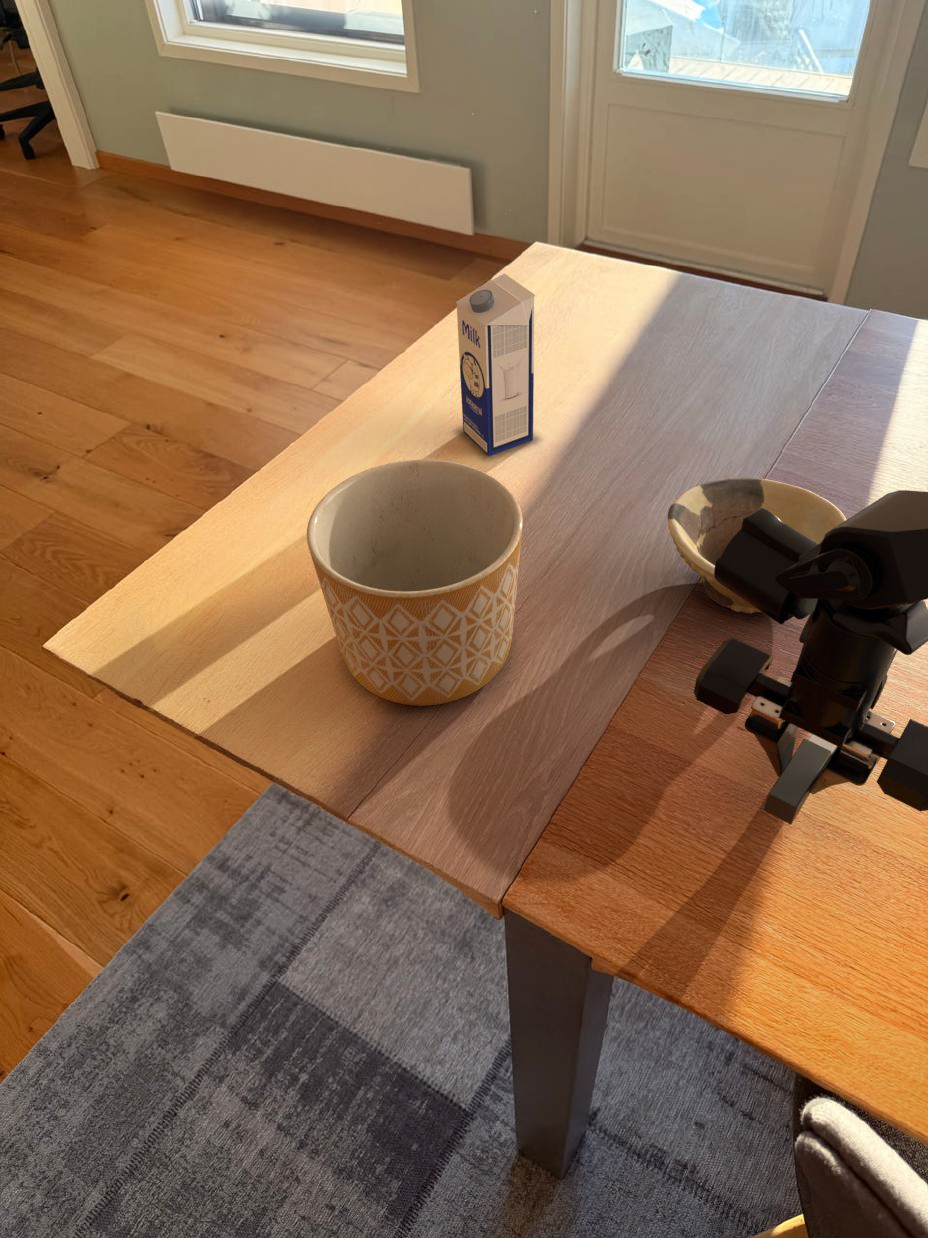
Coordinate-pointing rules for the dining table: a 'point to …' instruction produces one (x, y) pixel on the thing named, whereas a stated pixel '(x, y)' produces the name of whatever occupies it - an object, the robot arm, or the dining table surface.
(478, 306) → the milk carton
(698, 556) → the bowl
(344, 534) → the planter
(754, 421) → the dining table surface
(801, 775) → the two-tone stick
